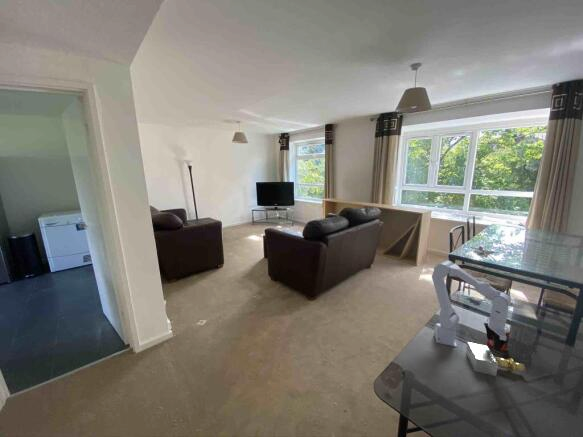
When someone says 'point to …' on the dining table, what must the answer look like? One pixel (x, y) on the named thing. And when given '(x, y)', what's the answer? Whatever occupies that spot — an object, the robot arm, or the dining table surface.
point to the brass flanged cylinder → (510, 364)
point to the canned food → (507, 333)
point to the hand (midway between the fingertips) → (493, 344)
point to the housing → (481, 359)
